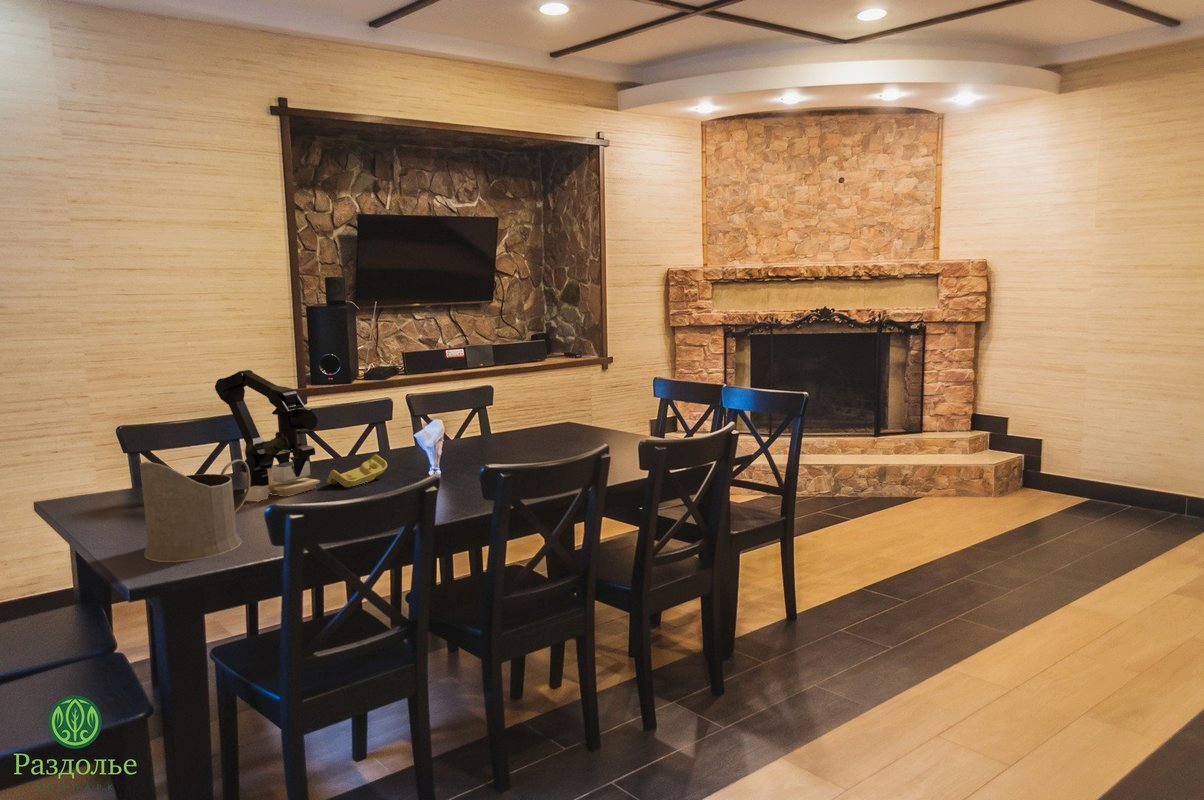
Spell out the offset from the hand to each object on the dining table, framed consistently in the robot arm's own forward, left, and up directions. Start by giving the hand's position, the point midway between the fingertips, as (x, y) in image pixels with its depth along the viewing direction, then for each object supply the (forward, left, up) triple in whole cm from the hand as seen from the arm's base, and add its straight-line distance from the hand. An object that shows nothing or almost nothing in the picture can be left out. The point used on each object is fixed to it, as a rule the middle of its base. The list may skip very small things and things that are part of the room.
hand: (291, 475), depth 293 cm
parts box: (-2, -12, -6) cm, 13 cm away
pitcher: (+27, -48, -6) cm, 55 cm away
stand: (0, 0, -6) cm, 6 cm away
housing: (0, 0, -1) cm, 1 cm away
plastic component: (+8, +21, -6) cm, 23 cm away
